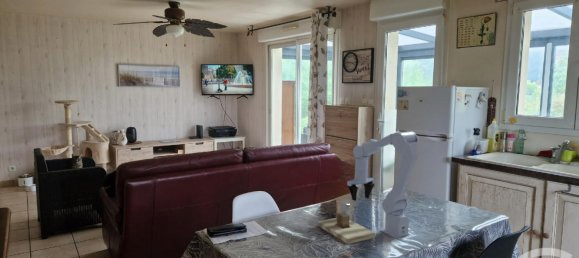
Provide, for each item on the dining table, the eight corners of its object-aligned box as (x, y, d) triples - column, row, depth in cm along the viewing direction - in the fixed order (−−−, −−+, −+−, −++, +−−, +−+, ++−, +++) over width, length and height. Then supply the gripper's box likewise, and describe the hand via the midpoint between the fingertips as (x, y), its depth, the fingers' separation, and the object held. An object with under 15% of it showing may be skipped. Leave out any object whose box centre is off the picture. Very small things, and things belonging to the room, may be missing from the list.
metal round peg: (352, 218, 176) (352, 204, 175) (343, 220, 174) (343, 205, 173) (345, 215, 181) (346, 201, 180) (337, 217, 178) (337, 202, 177)
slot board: (375, 237, 154) (375, 232, 154) (347, 244, 147) (348, 239, 147) (343, 220, 173) (343, 216, 173) (317, 225, 167) (317, 221, 166)
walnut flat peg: (349, 231, 160) (349, 215, 160) (343, 232, 159) (343, 216, 158) (342, 227, 165) (342, 212, 164) (336, 228, 163) (336, 213, 163)
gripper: (367, 167, 181) (367, 194, 182) (343, 170, 174) (342, 198, 176) (377, 170, 175) (376, 198, 176) (353, 173, 168) (352, 202, 169)
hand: (360, 199), depth 176 cm, fingers open, 7 cm apart
